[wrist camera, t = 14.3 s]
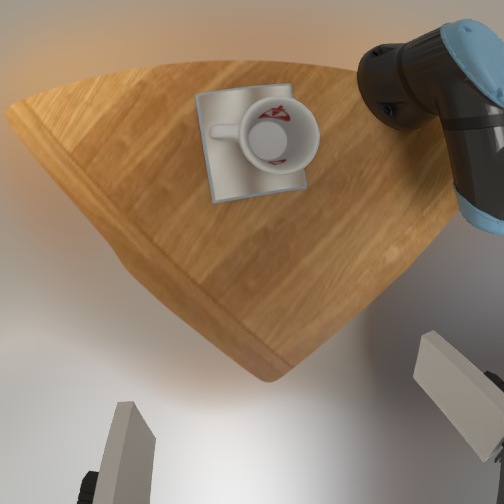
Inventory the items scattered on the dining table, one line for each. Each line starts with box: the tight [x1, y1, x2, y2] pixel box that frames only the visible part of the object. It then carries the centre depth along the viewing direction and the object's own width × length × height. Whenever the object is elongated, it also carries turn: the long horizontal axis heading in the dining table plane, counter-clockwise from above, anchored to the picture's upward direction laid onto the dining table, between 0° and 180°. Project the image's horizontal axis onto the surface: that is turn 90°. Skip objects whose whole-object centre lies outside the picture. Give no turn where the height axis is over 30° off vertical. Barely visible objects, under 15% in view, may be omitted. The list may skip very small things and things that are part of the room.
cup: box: [209, 96, 320, 175], centre depth 29 cm, size 11×8×8 cm
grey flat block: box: [195, 83, 307, 204], centre depth 35 cm, size 12×14×5 cm
